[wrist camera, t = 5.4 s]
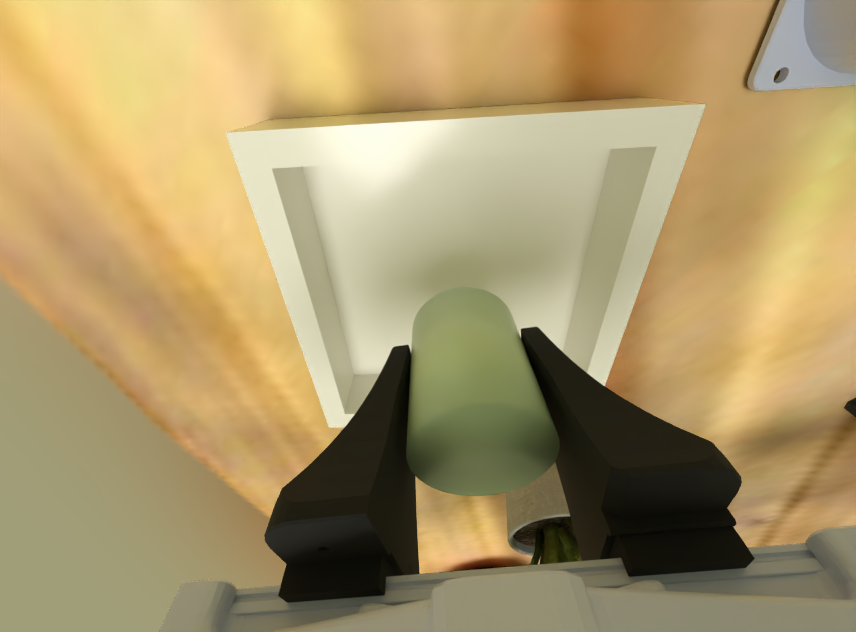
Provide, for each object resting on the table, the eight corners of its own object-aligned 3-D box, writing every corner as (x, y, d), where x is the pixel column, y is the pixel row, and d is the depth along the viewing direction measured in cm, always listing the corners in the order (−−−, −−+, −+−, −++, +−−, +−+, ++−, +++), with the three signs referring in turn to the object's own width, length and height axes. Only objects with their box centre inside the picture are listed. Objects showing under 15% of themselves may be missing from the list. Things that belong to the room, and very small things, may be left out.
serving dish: (642, 97, 14) (706, 103, 11) (570, 369, 24) (593, 416, 20) (269, 119, 15) (225, 132, 12) (342, 379, 24) (329, 427, 21)
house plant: (475, 515, 36) (505, 773, 23) (417, 446, 29) (412, 767, 15) (614, 484, 33) (746, 766, 19) (589, 396, 25) (772, 752, 12)
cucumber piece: (511, 278, 13) (562, 391, 8) (515, 361, 16) (557, 487, 11) (402, 297, 14) (389, 415, 9) (422, 375, 16) (422, 502, 11)
